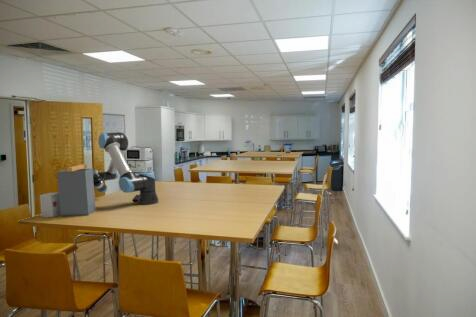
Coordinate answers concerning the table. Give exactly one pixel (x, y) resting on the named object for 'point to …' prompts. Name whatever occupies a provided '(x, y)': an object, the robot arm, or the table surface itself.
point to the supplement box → (50, 204)
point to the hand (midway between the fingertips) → (86, 171)
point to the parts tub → (76, 192)
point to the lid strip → (76, 167)
